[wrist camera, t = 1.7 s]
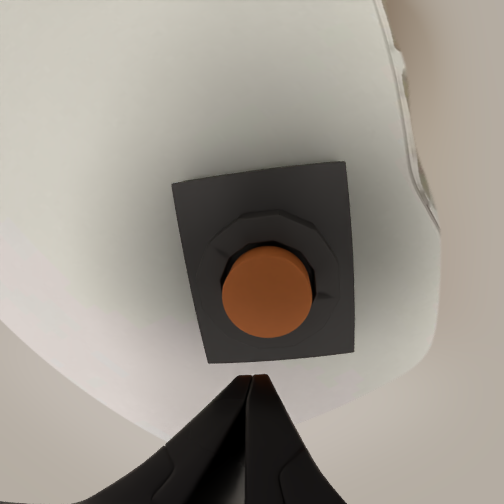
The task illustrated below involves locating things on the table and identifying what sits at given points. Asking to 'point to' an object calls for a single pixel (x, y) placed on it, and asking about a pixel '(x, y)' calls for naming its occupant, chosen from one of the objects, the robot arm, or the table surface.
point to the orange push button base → (271, 234)
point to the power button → (267, 292)
